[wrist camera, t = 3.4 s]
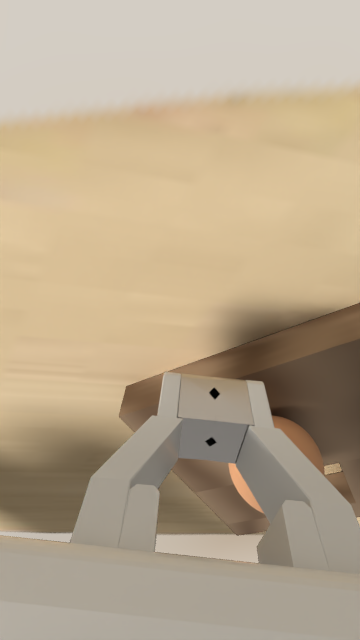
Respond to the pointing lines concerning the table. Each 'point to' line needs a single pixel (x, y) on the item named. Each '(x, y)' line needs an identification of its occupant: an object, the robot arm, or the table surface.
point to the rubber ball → (298, 438)
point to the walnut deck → (279, 406)
